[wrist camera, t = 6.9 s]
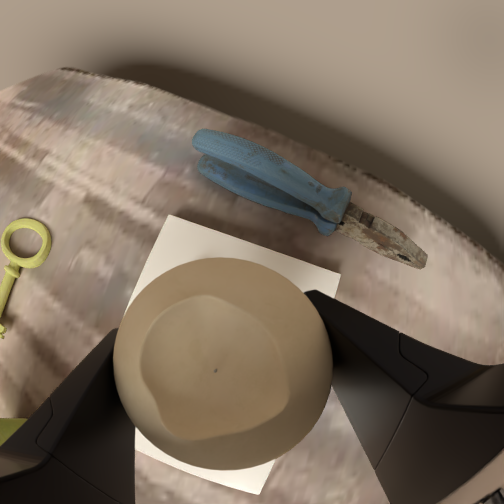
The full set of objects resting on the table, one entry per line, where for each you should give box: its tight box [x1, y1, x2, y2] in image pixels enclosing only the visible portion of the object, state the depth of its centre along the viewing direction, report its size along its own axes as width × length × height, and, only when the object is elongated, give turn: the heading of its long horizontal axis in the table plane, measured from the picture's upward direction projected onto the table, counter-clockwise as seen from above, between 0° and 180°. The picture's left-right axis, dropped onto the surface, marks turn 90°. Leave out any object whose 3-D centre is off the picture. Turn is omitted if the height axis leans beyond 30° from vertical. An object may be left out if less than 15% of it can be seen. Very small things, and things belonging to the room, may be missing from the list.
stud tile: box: [123, 215, 341, 495], centre depth 19 cm, size 18×14×3 cm
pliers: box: [192, 129, 427, 269], centre depth 22 cm, size 20×2×6 cm, turn 61°
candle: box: [113, 257, 333, 471], centre depth 10 cm, size 6×6×10 cm
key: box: [0, 218, 51, 339], centre depth 22 cm, size 7×12×2 cm, turn 2°
